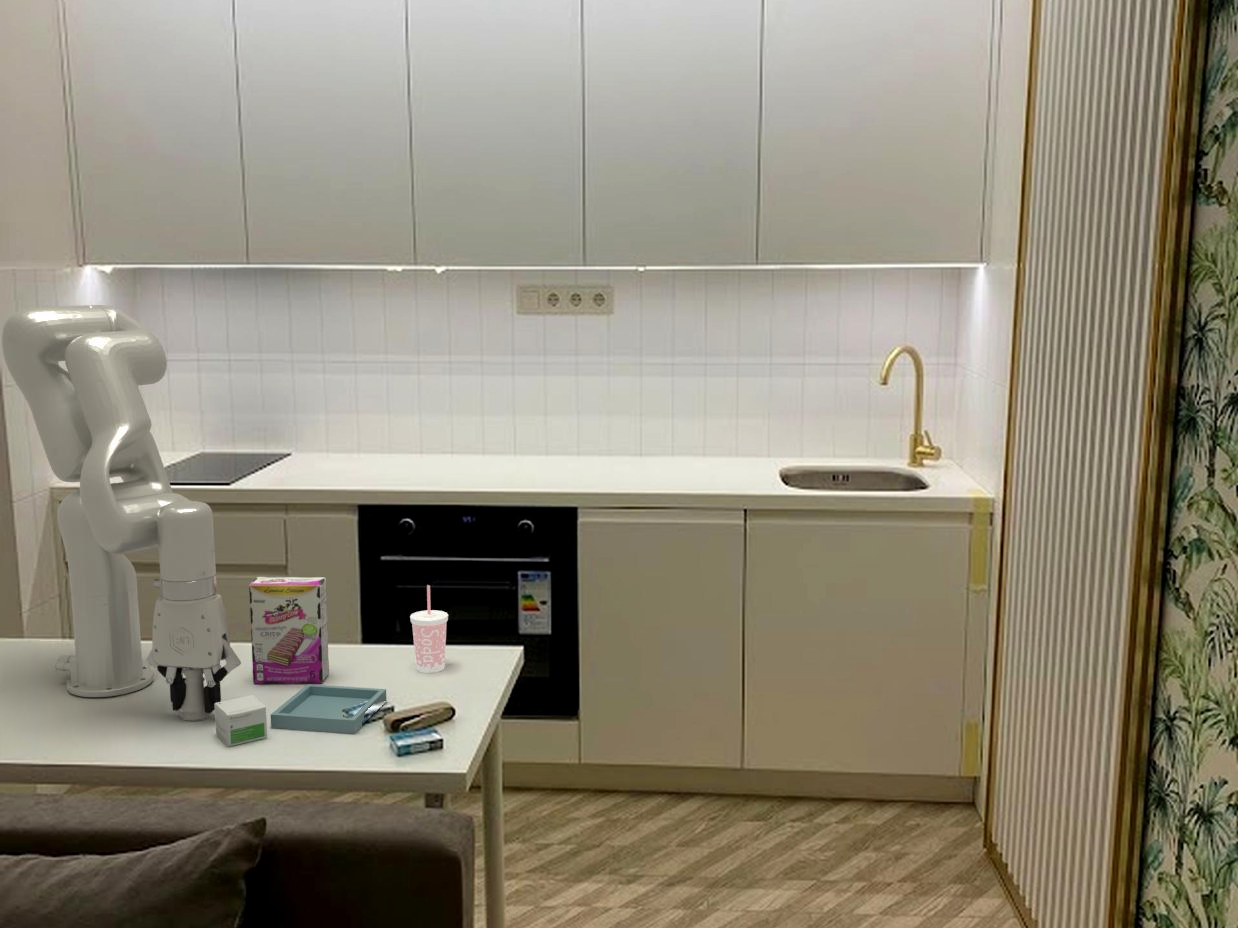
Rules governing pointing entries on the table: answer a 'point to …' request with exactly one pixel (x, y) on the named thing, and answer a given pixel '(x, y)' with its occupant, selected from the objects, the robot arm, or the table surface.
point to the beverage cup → (429, 638)
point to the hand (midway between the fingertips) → (196, 707)
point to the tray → (325, 708)
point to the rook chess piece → (194, 696)
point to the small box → (240, 720)
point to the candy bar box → (289, 630)
